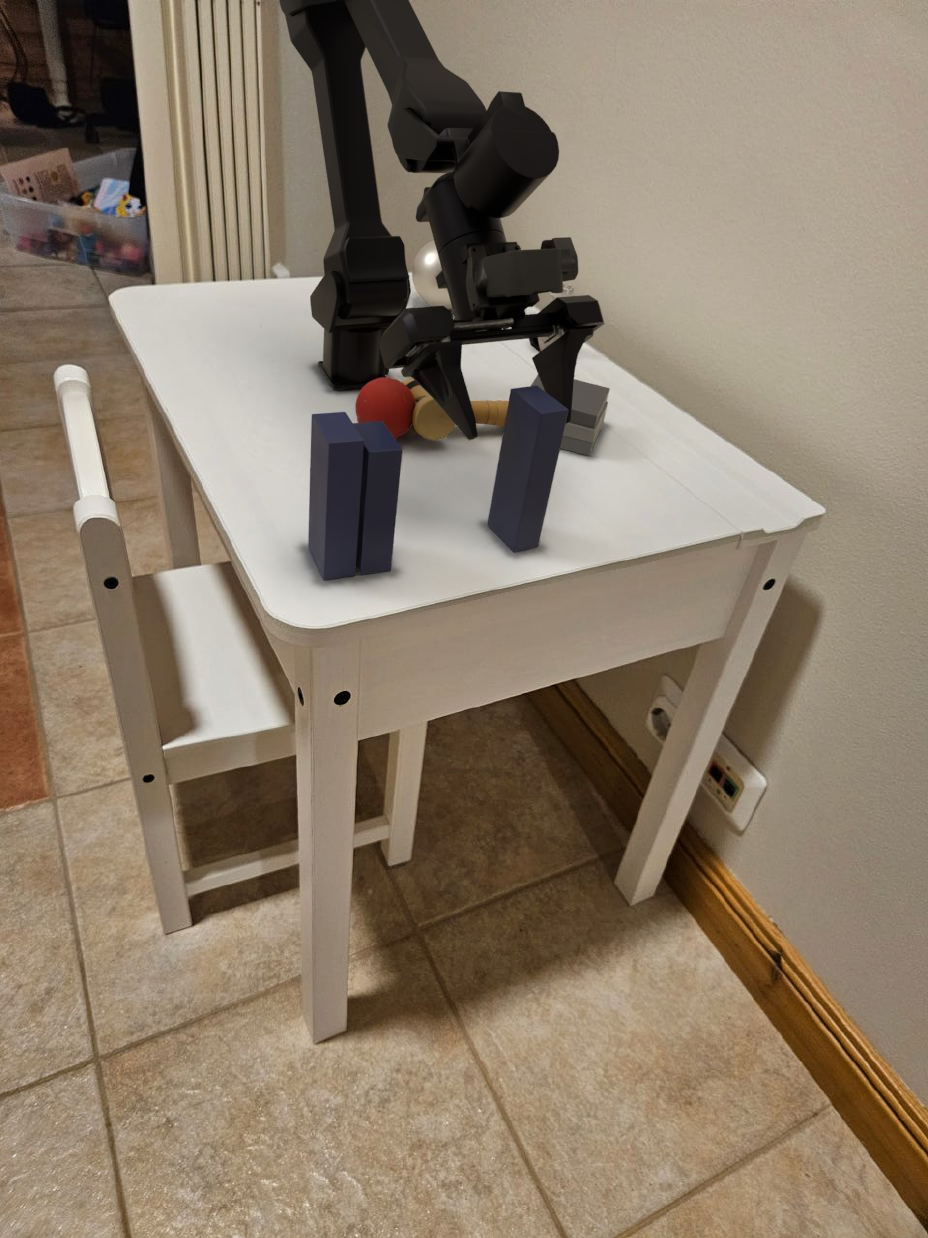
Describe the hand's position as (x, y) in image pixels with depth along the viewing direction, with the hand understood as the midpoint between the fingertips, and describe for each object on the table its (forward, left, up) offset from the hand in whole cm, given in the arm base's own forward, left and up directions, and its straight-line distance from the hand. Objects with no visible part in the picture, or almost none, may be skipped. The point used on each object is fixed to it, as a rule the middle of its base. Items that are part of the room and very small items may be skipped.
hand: (520, 431), depth 73 cm
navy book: (0, -2, -9) cm, 10 cm away
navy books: (-15, -2, -9) cm, 18 cm away
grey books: (+14, +16, -9) cm, 23 cm away
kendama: (+1, +17, -10) cm, 20 cm away
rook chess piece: (+24, +36, -10) cm, 45 cm away
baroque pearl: (+15, +51, -10) cm, 55 cm away
